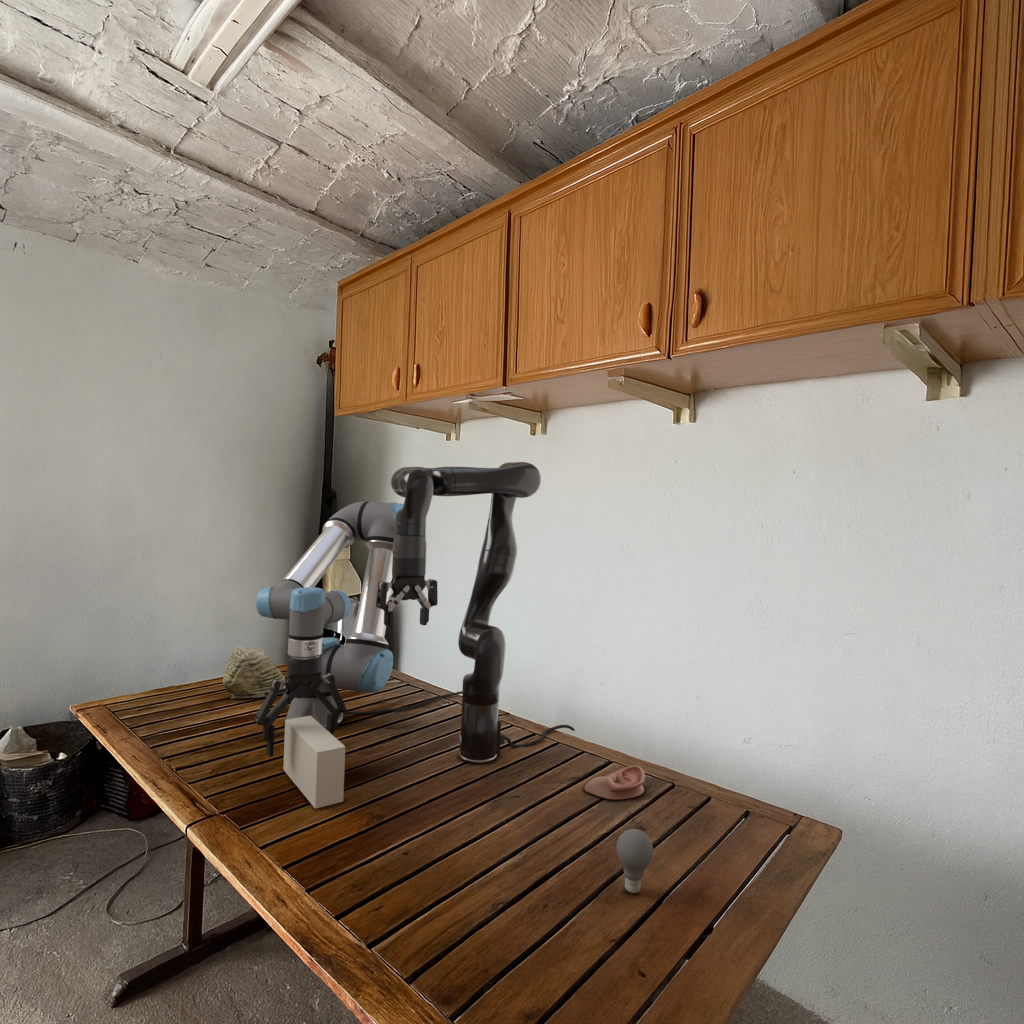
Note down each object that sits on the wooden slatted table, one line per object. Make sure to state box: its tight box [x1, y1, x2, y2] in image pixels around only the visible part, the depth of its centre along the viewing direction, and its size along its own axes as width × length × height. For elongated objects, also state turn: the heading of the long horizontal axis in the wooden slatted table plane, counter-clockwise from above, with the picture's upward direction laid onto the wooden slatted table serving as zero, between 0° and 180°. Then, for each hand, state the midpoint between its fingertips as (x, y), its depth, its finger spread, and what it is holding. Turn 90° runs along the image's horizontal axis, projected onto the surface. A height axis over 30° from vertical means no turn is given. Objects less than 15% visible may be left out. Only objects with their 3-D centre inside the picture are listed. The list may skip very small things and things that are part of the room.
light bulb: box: [615, 828, 654, 894], centre depth 106 cm, size 6×6×10 cm
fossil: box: [222, 646, 287, 699], centre depth 198 cm, size 9×18×15 cm, turn 132°
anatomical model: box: [584, 765, 646, 800], centre depth 143 cm, size 13×4×12 cm
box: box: [282, 716, 346, 809], centre depth 139 cm, size 22×6×12 cm, turn 36°
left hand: (300, 748), depth 145 cm, fingers open, 13 cm apart
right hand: (406, 626), depth 144 cm, fingers open, 8 cm apart
